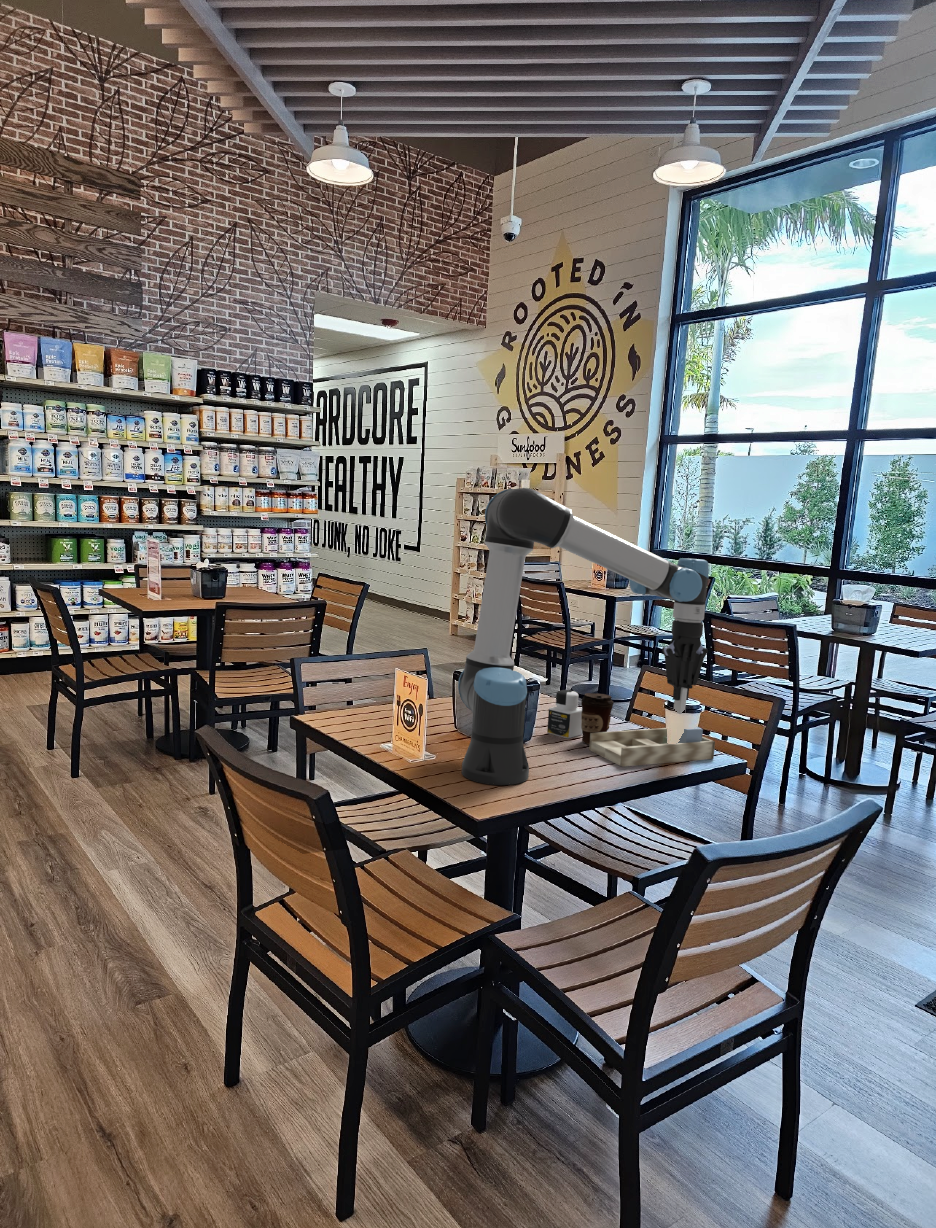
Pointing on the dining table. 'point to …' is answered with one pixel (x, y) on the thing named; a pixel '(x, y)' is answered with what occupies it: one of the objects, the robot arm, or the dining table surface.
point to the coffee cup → (595, 714)
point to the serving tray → (647, 747)
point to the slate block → (691, 735)
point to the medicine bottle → (565, 715)
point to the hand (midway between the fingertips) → (679, 712)
